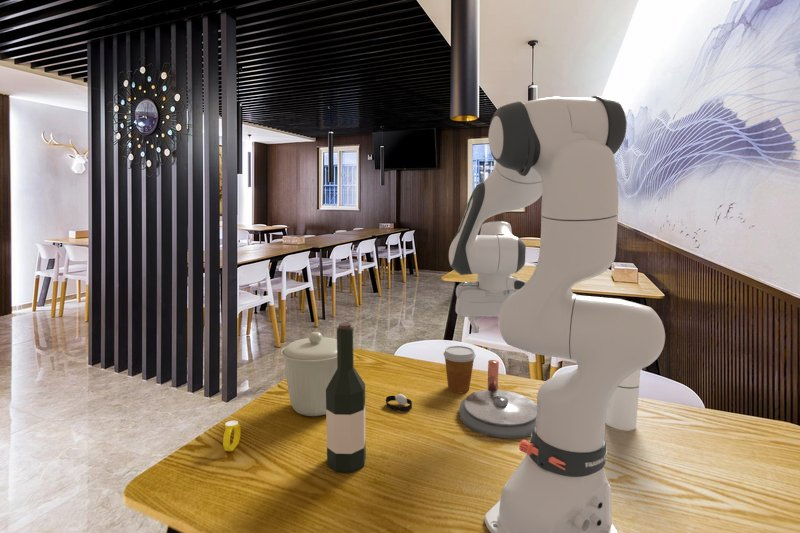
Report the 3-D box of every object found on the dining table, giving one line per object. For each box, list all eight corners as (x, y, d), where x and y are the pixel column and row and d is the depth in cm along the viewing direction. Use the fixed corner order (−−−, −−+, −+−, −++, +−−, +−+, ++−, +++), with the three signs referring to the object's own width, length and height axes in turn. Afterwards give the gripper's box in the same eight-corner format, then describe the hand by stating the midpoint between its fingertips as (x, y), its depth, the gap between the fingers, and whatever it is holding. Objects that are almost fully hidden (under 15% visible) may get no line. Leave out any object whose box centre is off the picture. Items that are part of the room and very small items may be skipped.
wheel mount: (505, 448, 96) (505, 439, 96) (442, 413, 113) (442, 405, 112) (559, 421, 108) (560, 413, 108) (495, 393, 125) (496, 386, 125)
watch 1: (232, 442, 99) (231, 417, 98) (243, 442, 99) (243, 417, 98) (220, 454, 93) (219, 428, 92) (232, 455, 93) (232, 428, 92)
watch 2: (415, 407, 116) (415, 394, 116) (407, 414, 112) (407, 401, 112) (390, 401, 120) (390, 389, 119) (382, 408, 116) (382, 395, 115)
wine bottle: (323, 455, 93) (320, 321, 89) (360, 448, 96) (359, 317, 92) (331, 477, 85) (328, 331, 81) (371, 468, 88) (370, 327, 84)
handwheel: (548, 426, 101) (550, 387, 100) (472, 426, 101) (473, 388, 100) (523, 392, 120) (524, 359, 119) (458, 393, 120) (459, 360, 119)
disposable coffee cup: (437, 385, 131) (437, 347, 129) (463, 380, 135) (464, 343, 133) (453, 397, 122) (454, 357, 121) (481, 391, 126) (482, 352, 125)
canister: (314, 431, 103) (312, 347, 100) (268, 410, 114) (265, 333, 111) (364, 405, 117) (363, 330, 115) (319, 388, 128) (317, 320, 126)
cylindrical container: (628, 417, 111) (635, 323, 108) (641, 431, 104) (649, 331, 101) (600, 416, 111) (606, 322, 108) (610, 429, 104) (617, 330, 101)
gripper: (459, 283, 110) (457, 335, 112) (534, 283, 113) (532, 334, 114) (453, 280, 117) (452, 329, 118) (525, 280, 119) (522, 328, 120)
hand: (492, 332), depth 116 cm, fingers open, 8 cm apart
